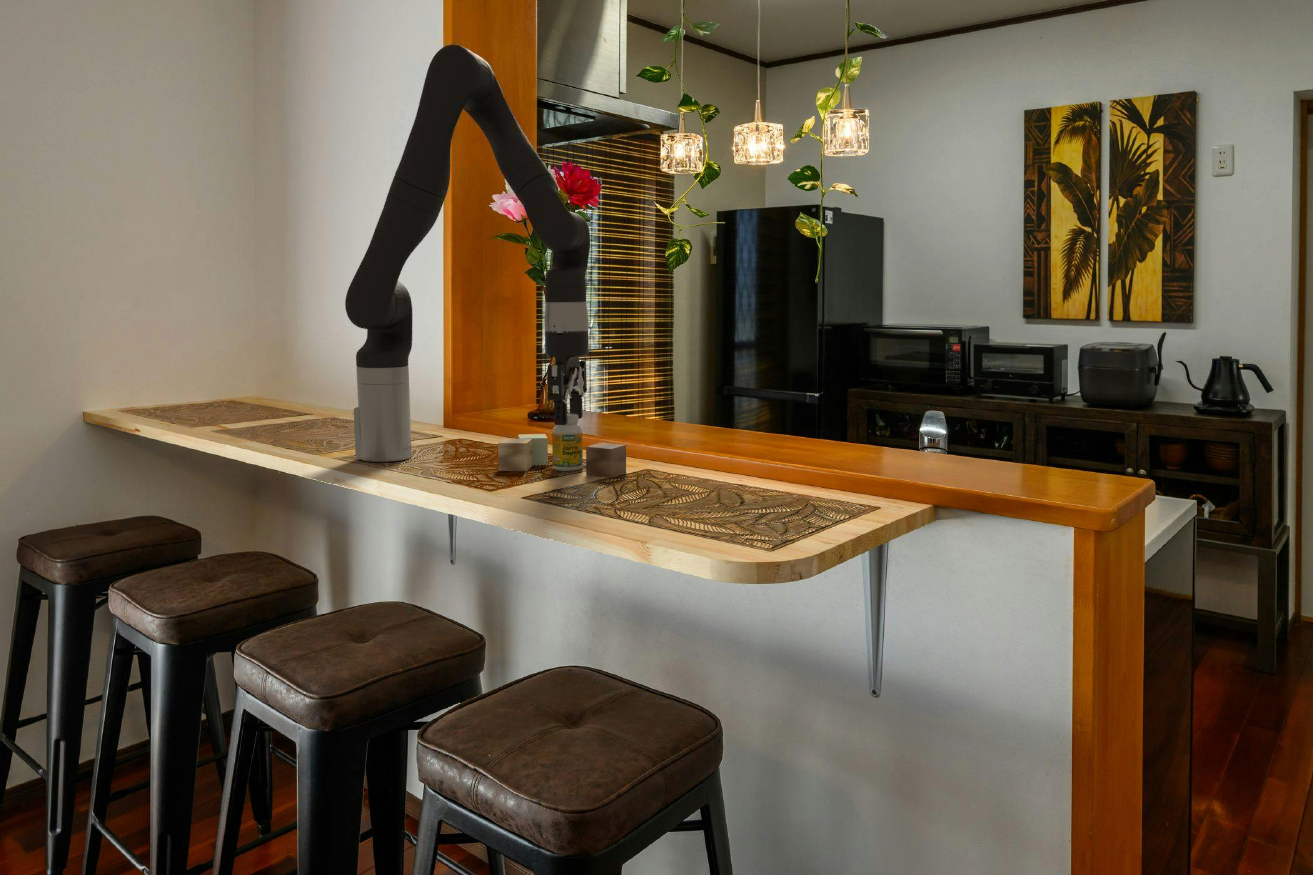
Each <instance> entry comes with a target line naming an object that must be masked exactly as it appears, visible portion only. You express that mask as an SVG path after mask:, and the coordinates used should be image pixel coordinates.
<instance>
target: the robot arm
mask: <svg viewBox="0 0 1313 875" xmlns="http://www.w3.org/2000/svg"><path fill="white" fill-rule="evenodd" d="M422 86H423V87H422V89H421V94H420V99H419V102H418V106H417V107H418V108H417V111H416V114H415V118H414V122H413V124H412V127H411V130H410V132H409V135H408V137H407V140H406V144H405V146H404V149H403V153H402V156H401V158H400V161H399V164H398V166H397V168H396V170H395V173H394V175H393V179H392V180H391V183H390V187H389V189H388V192H387V194H386V195H387V196H386V198H385V202H384V205H383V208H382V210H381V213H380V215H379V218H378V221H377V223H376V226H375V229H374V231H373V233H372V234H373V235H372V237H371V240H370V243H369V244H368V246H367V250H366V251H365V254H364V256H363V257H362V260H361V262H360V263H359V266H358V268H357V270H356V272H355V274H354V276H353V277H352V280H351V281H350V283H349V284H350V285H349V286H348V288H347V291H346V295H345V299H344V300H345V301H344V304H345V311H346V315H347V317H348V319H349V321H350V322H351V323H352V324H353V325H354V326H355V327H358V328H360V329H363V330H366V338H365V339H366V340H365V341H364V344H362V346H361V347H360V348H359V349H358V350H357V351H356V354H355V366H356V384H357V385H356V386H357V387H356V388H357V406H356V407H354V408H353V428H354V430H353V431H354V448H355V449H354V452H355V453H354V454H355V460H362V461H365V462H376V463H378V462H379V463H381V462H396V461H397V462H398V461H403V460H409V459H411V458H412V457H413V456H412V432H411V430H412V429H411V427H412V426H411V425H412V424H411V400H410V399H411V398H410V396H411V395H410V375H409V374H410V371H409V358H410V357H409V356H410V354H411V351H412V348H413V303H412V297H411V294H410V292H409V291H408V288H407V287H406V286H405V285H404V284H403V283H402V282H400V281H399V278H400V275H401V273H402V270H403V269H404V266H405V265H406V262H407V260H408V259H409V258H410V256H411V255H412V253H413V252H414V251H415V250H416V248H417V247H418V246H419V245H420V244H421V242H423V240H424V239H425V238H426V236H427V235H428V233H430V231H431V230H432V228H434V226H435V224H436V222H437V220H438V219H439V218H438V217H439V215H440V213H441V210H442V208H443V205H444V202H445V199H446V197H447V193H448V191H449V187H450V180H451V152H452V150H451V148H452V140H453V136H454V132H455V129H456V126H457V124H458V121H459V120H460V119H459V118H460V116H461V114H462V111H463V110H464V112H466V113H467V115H469V117H470V118H471V119H472V120H473V121H474V122H475V124H477V126H479V128H480V129H481V131H482V132H483V134H484V136H485V137H486V139H487V141H488V143H489V145H490V148H491V150H492V154H493V156H494V158H495V161H496V165H497V166H498V168H499V171H500V173H501V174H502V176H503V178H504V179H505V181H506V183H507V184H508V185H509V187H510V189H511V190H512V192H513V193H514V195H515V197H516V198H517V199H518V201H519V202H520V204H522V206H523V208H524V211H525V214H526V217H527V218H528V221H529V224H530V225H531V228H532V230H533V232H534V234H535V235H536V237H537V238H538V240H539V241H540V243H542V245H543V246H544V247H546V248H547V249H549V250H550V251H552V256H551V257H552V258H551V266H550V268H549V269H548V270H547V272H546V273H545V279H544V291H545V293H544V295H545V309H544V346H545V347H544V348H545V349H544V350H545V351H544V352H545V355H546V356H547V357H549V358H555V359H554V364H548V365H547V401H551V403H552V404H553V422H554V425H555V426H557V425H566V424H567V423H568V417H567V414H568V398H569V414H577V415H578V420H580V419H582V418H583V417H584V415H583V414H584V412H583V411H584V410H583V407H584V406H583V398H584V396H585V394H586V393H587V392H588V387H587V386H588V384H587V361H586V360H585V359H580V358H581V357H587V356H588V355H589V352H590V351H589V348H590V347H589V346H590V345H589V314H588V312H589V311H588V307H587V283H586V281H587V280H586V274H587V270H588V269H587V268H588V264H589V258H590V257H589V256H590V249H591V233H590V228H589V225H588V223H587V220H585V218H584V217H583V216H581V215H580V214H578V213H575V212H573V211H569V209H568V208H567V207H566V205H565V203H564V202H563V200H562V199H561V197H560V195H559V185H558V184H557V182H556V179H554V177H553V175H552V174H551V172H550V171H549V169H548V167H547V166H546V165H545V163H544V162H543V160H542V158H541V157H540V155H539V154H538V152H537V150H536V149H535V148H534V146H533V144H531V142H530V141H529V139H528V137H527V135H525V132H524V131H523V129H522V128H521V125H520V124H519V123H518V121H517V119H516V117H515V115H514V113H513V111H512V110H511V107H510V106H509V103H508V101H507V99H506V98H505V95H504V93H503V90H502V87H501V86H500V84H499V81H498V79H497V77H496V75H495V73H494V71H493V69H492V67H491V65H490V64H489V63H488V61H487V60H485V59H484V58H483V57H481V56H480V55H478V54H476V53H475V52H473V51H472V50H469V49H468V48H466V47H465V46H462V45H459V44H456V43H455V44H454V43H453V44H452V43H451V44H447V45H445V46H442V47H441V48H440V49H439V50H438V51H437V52H436V53H435V54H434V55H433V57H432V59H431V61H430V62H429V66H428V69H427V72H426V76H425V79H424V83H423V85H422Z"/></svg>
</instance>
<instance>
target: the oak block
mask: <svg viewBox="0 0 1313 875" xmlns="http://www.w3.org/2000/svg"><path fill="white" fill-rule="evenodd" d="M497 453H498V454H497V456H498V463H497V464H498V472H501V471H502V472H503V471H504V472H505V471H506V472H507V471H508V472H528V471H529V470H530V469H531V468H532V467H533V465H532V439H518V438H503V439H502V440H500V441H499V442H497Z"/></svg>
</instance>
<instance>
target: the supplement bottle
mask: <svg viewBox="0 0 1313 875" xmlns="http://www.w3.org/2000/svg"><path fill="white" fill-rule="evenodd" d="M567 417H568V423H567V424H566V425H555V426H554V427H553V428H552V431H551V440H552V442H551V443H552V444H551V447H552V469H553V470H555V471H562V472H570V471H571V472H574V471H579V470H582V468H583V467H584V463H583V462H584V459H583V456H584V455H583V452H584V451H583V448H584V447H583V441H584V440H583V428H582V427H581V426H579V425H578V423H579V419H578V415H577V414H570V413H567Z"/></svg>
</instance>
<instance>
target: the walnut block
mask: <svg viewBox="0 0 1313 875" xmlns="http://www.w3.org/2000/svg"><path fill="white" fill-rule="evenodd" d="M624 474H627V444H620V443H619V444H618V443H608V442H598V443H594V444H591V445H587V446H585V475H586V476H593V477H600V478H610V479H611V478H615V477H618V476H621V475H624Z"/></svg>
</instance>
